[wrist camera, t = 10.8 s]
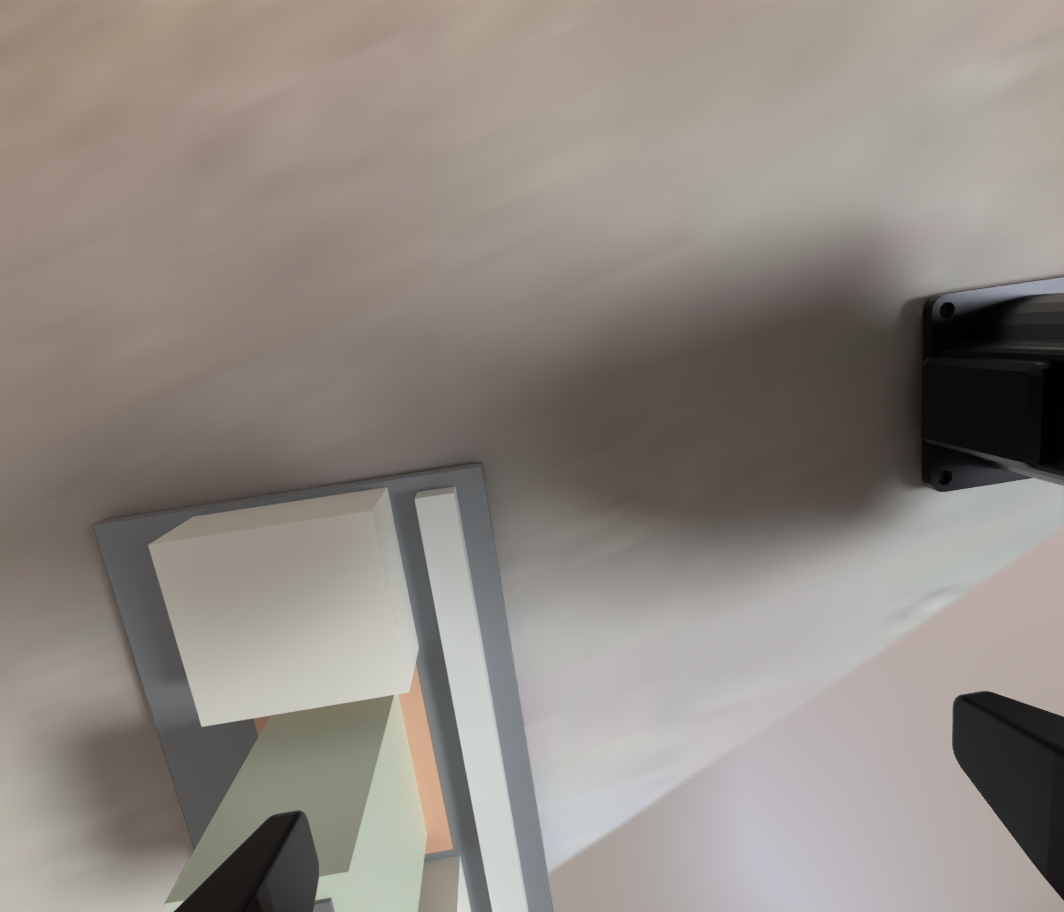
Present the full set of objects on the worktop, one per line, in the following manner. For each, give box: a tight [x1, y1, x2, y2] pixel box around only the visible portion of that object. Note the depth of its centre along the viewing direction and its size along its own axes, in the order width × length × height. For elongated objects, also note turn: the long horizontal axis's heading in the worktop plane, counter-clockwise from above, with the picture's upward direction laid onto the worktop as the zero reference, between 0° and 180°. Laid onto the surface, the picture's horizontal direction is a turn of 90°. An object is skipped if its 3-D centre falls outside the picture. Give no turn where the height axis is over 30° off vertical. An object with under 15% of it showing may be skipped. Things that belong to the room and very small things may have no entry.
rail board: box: [93, 463, 554, 912], centre depth 20 cm, size 12×20×3 cm, turn 8°
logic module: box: [164, 694, 427, 912], centre depth 17 cm, size 4×6×7 cm, turn 8°
